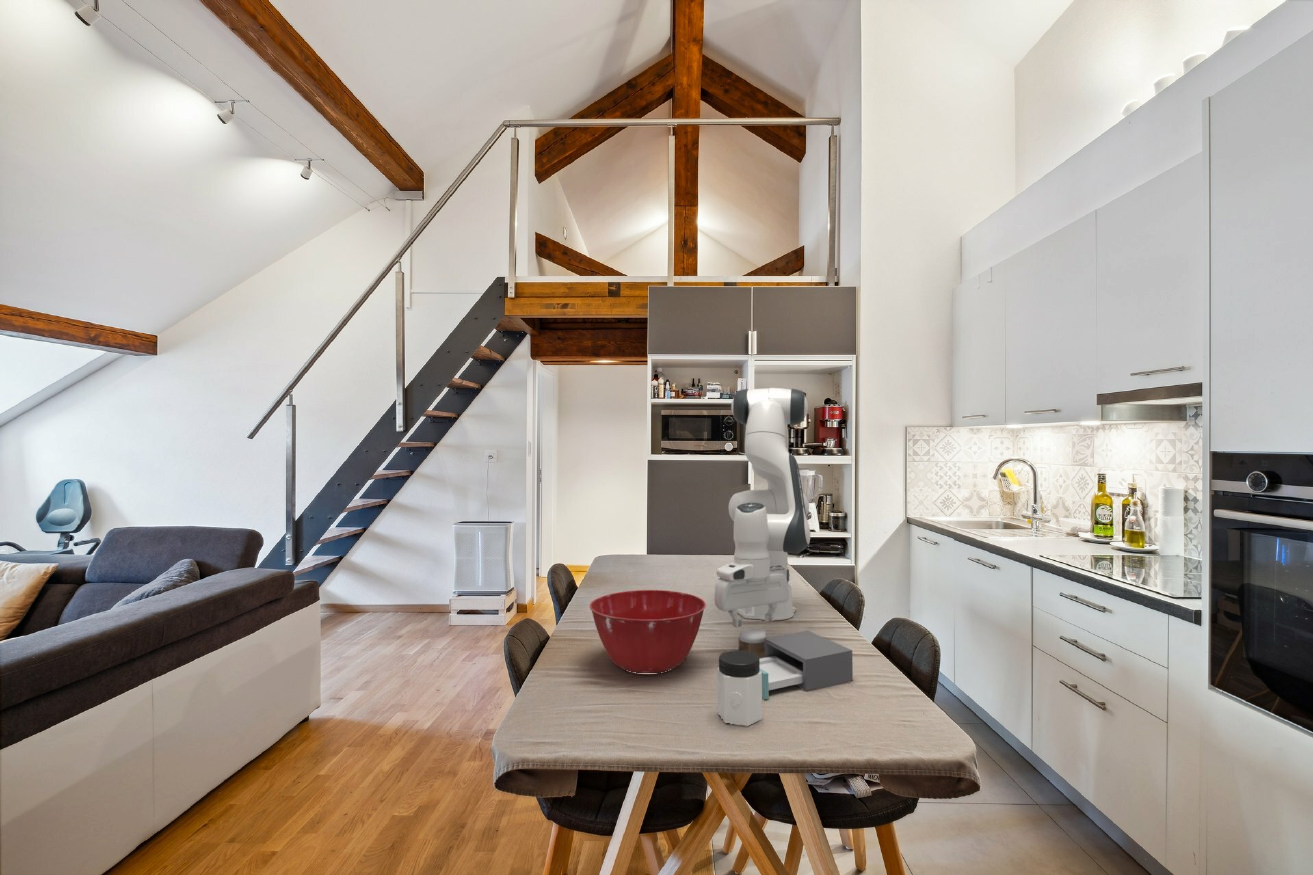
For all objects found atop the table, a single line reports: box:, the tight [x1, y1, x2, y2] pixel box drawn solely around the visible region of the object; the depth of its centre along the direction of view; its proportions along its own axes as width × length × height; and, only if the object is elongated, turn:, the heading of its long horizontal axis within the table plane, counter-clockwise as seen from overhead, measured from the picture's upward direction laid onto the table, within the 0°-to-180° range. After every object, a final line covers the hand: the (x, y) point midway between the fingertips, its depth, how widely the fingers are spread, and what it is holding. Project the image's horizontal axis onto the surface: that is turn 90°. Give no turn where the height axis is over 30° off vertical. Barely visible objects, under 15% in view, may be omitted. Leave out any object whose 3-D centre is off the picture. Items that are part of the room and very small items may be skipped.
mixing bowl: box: [589, 589, 707, 674], centre depth 154 cm, size 28×28×15 cm
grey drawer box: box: [764, 630, 854, 692], centre depth 147 cm, size 16×13×7 cm
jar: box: [716, 649, 763, 727], centre depth 125 cm, size 9×8×12 cm
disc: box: [738, 627, 767, 643], centre depth 157 cm, size 7×7×2 cm
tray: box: [760, 656, 803, 700], centre depth 142 cm, size 16×13×5 cm
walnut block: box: [738, 638, 765, 659], centre depth 157 cm, size 5×5×5 cm
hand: (753, 623), depth 156 cm, fingers open, 8 cm apart
